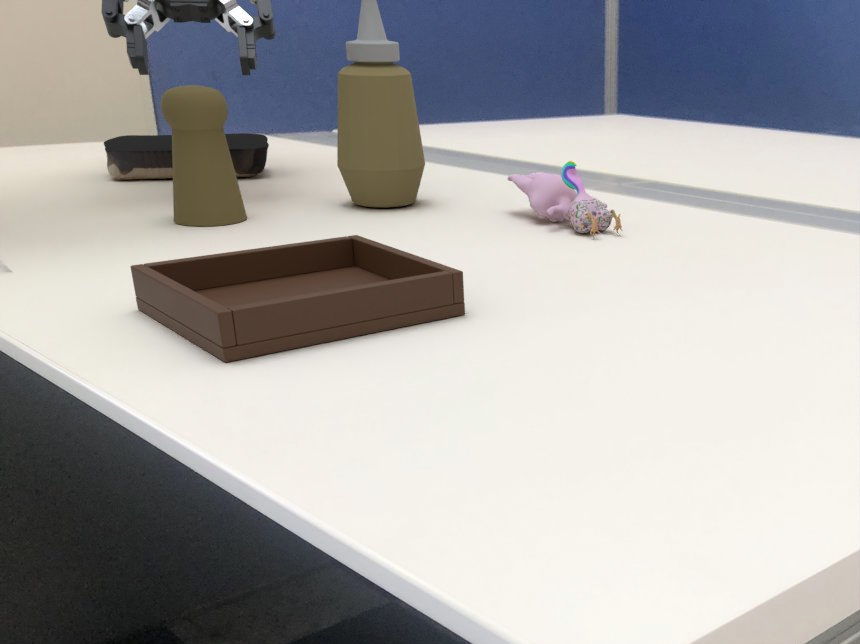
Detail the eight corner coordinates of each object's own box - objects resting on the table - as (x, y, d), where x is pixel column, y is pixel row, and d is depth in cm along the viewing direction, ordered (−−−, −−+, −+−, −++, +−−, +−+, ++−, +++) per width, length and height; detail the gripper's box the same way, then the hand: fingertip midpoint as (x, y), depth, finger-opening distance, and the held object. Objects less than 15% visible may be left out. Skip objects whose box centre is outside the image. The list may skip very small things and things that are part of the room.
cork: (158, 223, 91) (136, 87, 86) (201, 210, 96) (182, 82, 92) (221, 228, 90) (201, 90, 85) (260, 215, 95) (244, 85, 90)
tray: (225, 362, 58) (217, 313, 57) (137, 309, 67) (129, 265, 66) (465, 314, 68) (463, 271, 66) (360, 273, 77) (357, 234, 75)
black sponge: (272, 166, 120) (268, 133, 119) (268, 178, 113) (263, 142, 111) (116, 169, 116) (110, 135, 115) (101, 182, 109) (94, 145, 107)
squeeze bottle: (445, 202, 103) (434, -2, 95) (387, 215, 96) (370, -2, 89) (382, 193, 106) (367, -4, 99) (322, 205, 100) (301, -5, 93)
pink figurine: (634, 247, 92) (543, 193, 102) (642, 180, 89) (547, 130, 99) (574, 256, 89) (486, 199, 98) (581, 186, 86) (488, 134, 95)
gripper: (90, -110, 93) (96, 36, 88) (260, -102, 97) (275, 38, 92) (110, -41, 100) (116, 98, 95) (268, -37, 104) (282, 97, 99)
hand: (194, 68), depth 94 cm, fingers open, 8 cm apart
